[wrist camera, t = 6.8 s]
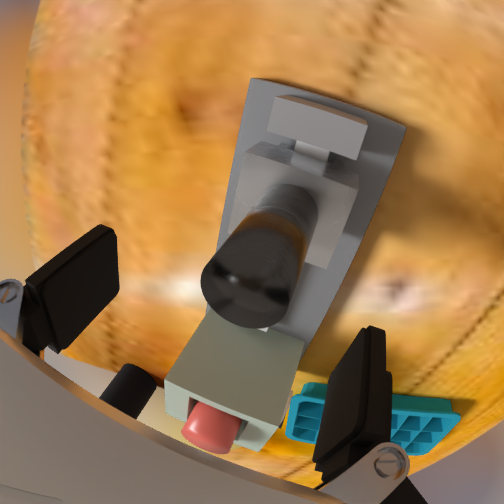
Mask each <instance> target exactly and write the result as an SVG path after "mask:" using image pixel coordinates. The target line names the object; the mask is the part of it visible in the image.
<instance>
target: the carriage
mask: <svg viewBox="0 0 504 504" xmlns="http://www.w3.org/2000/svg"><path fill="white" fill-rule="evenodd" d="M290 147H291V145H289V144H286V143H283V142H281V143H280V144H279V145H278V146H277V145H274V144H270V143H267V142H264V141H260V142H259V143H257V144H256V145H254V146H253V147H251V148H249V149H248V150H246V151H245V152H244V156H243V161H242V165H241V170H240V175H239V180H238V184H237V189H236V194H235V199H234V204H233V209H232V214H231V219H230V224H229V229H228V234H231V235H230V236H229V237H228V239H227V240H226V241H225V242H224V244H223V245H222V246H221V247H220V248H219V250H218V251H217V252H216V253H215V255H214V256H213V257H212V258H211V260H210V261H209V262H208V263H207V265H206V266H205V268H204V269H203V272H202V275H201V289H202V292H203V295H204V297H205V299H206V301H207V302H208V304H209V305H210V307H211V308H212V309H213V310H214V311H215V312H216V313H217V314H218V315H220V316H221V317H222V318H224V319H225V320H227V321H229V322H230V323H233V324H235V325H238V326H240V327H244V328H250V329H262V328H267V327H270V326H273V325H275V324H276V323H278V322H279V321H280V320H281V319H282V318H283V317H284V316H285V314H286V312H287V310H288V307H289V304H290V301H291V299H292V296H293V293H294V290H295V287H296V284H297V282H298V279H299V276H300V273H301V270H302V267H303V264H304V262H307V263H310V264H312V265H315V266H318V267H321V268H323V269H327V267H328V264H329V262H330V260H331V257H332V255H333V253H334V250H335V248H336V246H337V243H338V241H339V238H340V236H341V234H342V231H343V229H344V226H345V224H346V221H347V219H348V216H349V214H350V211H351V209H352V206H353V204H354V201H355V199H356V196H357V193H358V191H359V173H356V172H353V171H351V170H348V169H345V168H343V164H344V163H342V162H340V161H337V160H334V162H333V164H331V163H329V162H326V161H323V160H320V159H317V158H314V157H311V156H308V155H305V154H302V153H299V152H296V151H293V150H290Z"/></svg>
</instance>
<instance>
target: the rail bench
mask: <svg viewBox="0 0 504 504" xmlns="http://www.w3.org/2000/svg"><path fill="white" fill-rule="evenodd" d="M406 129H407V128H406V127H405V126H404V125H403V124H401V123H398V122H396V121H393V120H391V119H388V118H386V117H384V116H381V115H378V114H376V113H373V112H371V111H368V110H365V109H363V108H360V107H357V106H354V105H351V104H348V103H345V102H343V101H340V100H337V99H333V98H330V97H327V96H324V95H321V94H317V93H314V92H311V91H307V90H304V89H300V88H296V87H293V86H289V85H285V84H281V83H277V82H273V81H269V80H265V79H260V78H251V79H250V84H249V88H248V92H247V97H246V102H245V106H244V111H243V115H242V120H241V125H240V130H239V134H238V139H237V144H236V149H235V154H234V159H233V164H232V169H231V174H230V179H229V184H228V189H227V194H226V200H225V205H224V210H223V216H222V221H221V226H220V232H219V238H218V243H217V249H216V252H217V251H218V250H219V248H220V247H221V246H222V245H223V244H224V242H225V241H226V240H227V239H228V237H229V236H230V235H231V234H228V229H229V224H230V219H231V214H232V209H233V204H234V199H235V194H236V189H237V184H238V180H239V175H240V170H241V165H242V161H243V156H244V152H245V151H246V150H248V149H249V148H251V147H253V146H254V145H256V144H257V143H259V142H260V141H264V142H267V143H270V144H274V145H277V146H278V145H279V144H280V143H281V142H283V143H286V144H289V145H291V147H290V150H293V151H296V152H299V153H302V154H305V155H308V156H311V157H314V158H317V159H320V160H323V161H326V162H329V163H331V164H333V162H334V160H337V161H340V162H342V163H344V164H343V168H345V169H348V170H351V171H353V172H356V173H359V191H358V193H357V196H356V199H355V201H354V204H353V206H352V209H351V211H350V214H349V216H348V219H347V221H346V224H345V226H344V229H343V231H342V234H341V236H340V238H339V241H338V243H337V246H336V248H335V250H334V253H333V255H332V257H331V260H330V262H329V264H328V267H327V269H323V268H321V267H318V266H315V265H312V264H310V263H307V262H304V264H303V267H302V270H301V273H300V276H299V279H298V282H297V284H296V287H295V290H294V293H293V296H292V299H291V301H290V304H289V307H288V310H287V312H286V314H285V316H284V317H283V318H282V319H281V320H280V321H279V322H278V323H276V324H275V325H273V326H270V327H267V328H262V329H250V328H244V327H240V326H238V325H235V324H233V323H230V322H229V321H227V320H225V319H224V318H222V317H221V316H220V315H218V314H217V313H216V312H215V311H214V310H213V309H212V308H211V307H210V305H209V304H208V302H207V308H206V315H205V317H204V319H203V320H202V322H201V323H200V325H199V326H198V328H197V330H196V331H195V333H194V334H193V336H192V337H191V339H190V340H189V342H188V343H187V345H186V346H185V348H184V350H183V351H182V353H181V354H180V356H179V357H178V359H177V360H176V362H175V363H174V365H173V367H172V368H171V370H170V371H169V373H168V374H167V376H166V377H165V379H164V385H165V409H166V414H168V415H170V416H173V417H174V418H177V419H179V420H181V421H183V422H185V423H186V421H187V420H188V418H189V416H190V414H191V412H192V410H193V409H194V407H195V405H196V403H197V401H200V402H203V403H205V404H207V405H210V406H212V407H214V408H217V409H219V410H221V411H224V412H226V413H229V414H231V415H234V416H236V417H239V418H241V419H243V421H242V423H241V425H240V428H239V430H238V432H237V435H236V437H235V439H234V442H233V443H235V444H237V445H240V446H243V447H245V448H248V449H251V450H254V451H257V452H259V451H260V450H261V448H262V447H263V446H264V445H265V444H266V442H267V441H268V440H269V439H270V437H271V436H272V435H273V433H274V432H275V431H276V430H277V428H280V429H281V427H282V424H283V421H284V418H285V415H286V412H287V410H288V407H289V405H290V402H291V398H292V394H293V391H292V390H291V387H292V384H293V381H294V377H295V374H296V371H297V367H298V364H299V362H300V360H301V358H302V357H303V355H304V353H305V351H306V350H307V348H308V346H309V344H310V342H311V341H312V339H313V337H314V335H315V333H316V331H317V330H318V328H319V326H320V324H321V322H322V320H323V318H324V316H325V315H326V313H327V311H328V309H329V307H330V305H331V303H332V301H333V299H334V297H335V295H336V293H337V291H338V289H339V287H340V285H341V283H342V281H343V279H344V277H345V275H346V273H347V271H348V269H349V267H350V264H351V262H352V260H353V258H354V256H355V254H356V252H357V250H358V247H359V245H360V243H361V241H362V239H363V236H364V234H365V232H366V230H367V227H368V225H369V223H370V221H371V218H372V216H373V214H374V211H375V209H376V207H377V204H378V202H379V199H380V197H381V194H382V192H383V190H384V187H385V185H386V182H387V180H388V177H389V175H390V172H391V169H392V167H393V164H394V162H395V159H396V156H397V154H398V151H399V148H400V145H401V143H402V140H403V137H404V134H405V131H406Z"/></svg>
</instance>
